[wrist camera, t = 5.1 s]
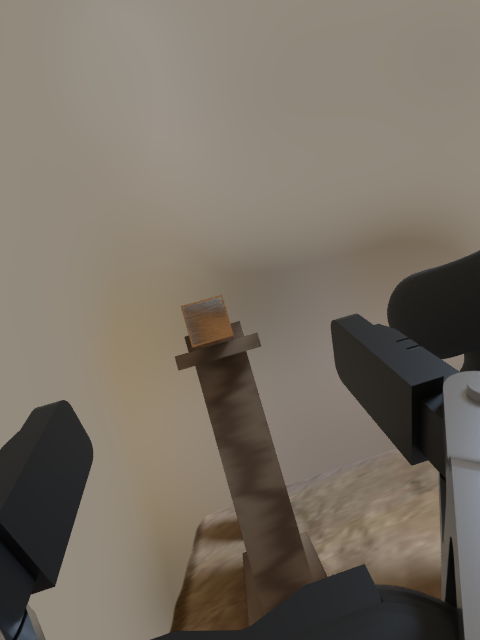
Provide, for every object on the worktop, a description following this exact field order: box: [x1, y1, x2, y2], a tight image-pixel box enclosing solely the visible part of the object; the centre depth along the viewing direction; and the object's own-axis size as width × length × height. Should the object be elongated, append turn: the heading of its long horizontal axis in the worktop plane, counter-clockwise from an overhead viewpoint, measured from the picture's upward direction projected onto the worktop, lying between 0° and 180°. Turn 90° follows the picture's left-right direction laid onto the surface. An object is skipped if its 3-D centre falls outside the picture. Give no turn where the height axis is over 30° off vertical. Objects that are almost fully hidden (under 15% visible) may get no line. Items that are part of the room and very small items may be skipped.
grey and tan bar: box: [181, 295, 234, 349], centre depth 36 cm, size 3×24×3 cm, turn 3°
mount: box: [175, 321, 327, 626], centre depth 41 cm, size 10×18×34 cm, turn 3°
